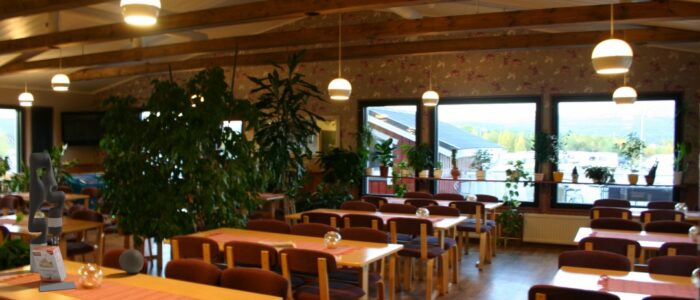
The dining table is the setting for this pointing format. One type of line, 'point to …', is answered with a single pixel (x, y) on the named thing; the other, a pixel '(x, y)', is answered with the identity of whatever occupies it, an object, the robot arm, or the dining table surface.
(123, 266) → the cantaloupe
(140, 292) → the dining table surface
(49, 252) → the cracker box
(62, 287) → the mat
